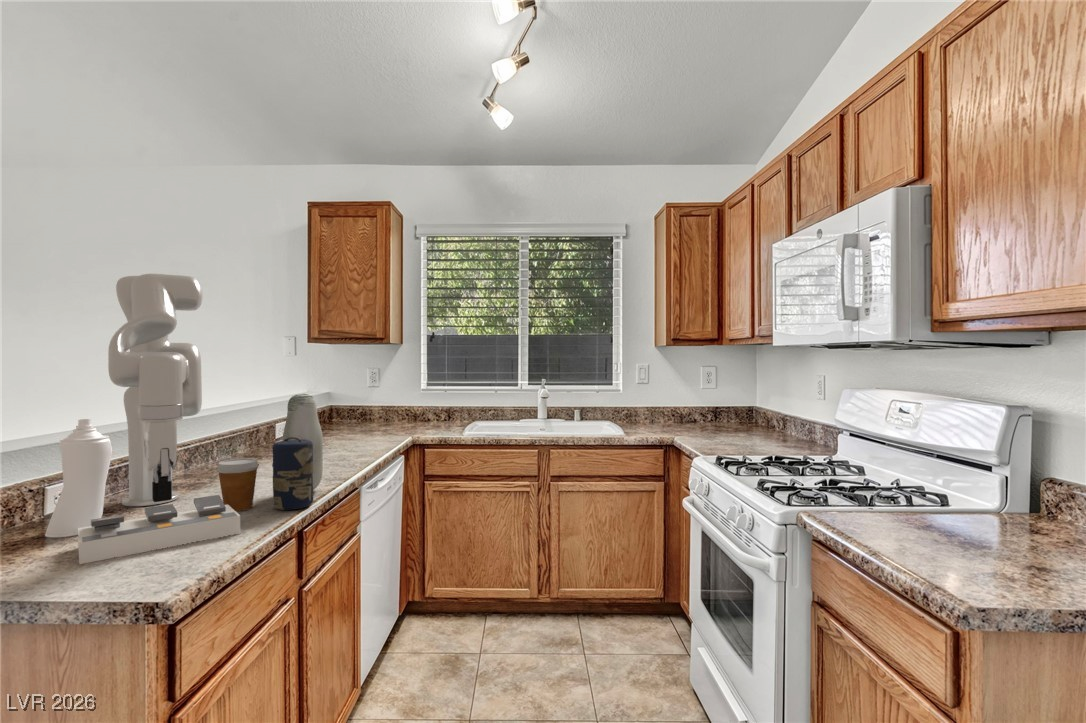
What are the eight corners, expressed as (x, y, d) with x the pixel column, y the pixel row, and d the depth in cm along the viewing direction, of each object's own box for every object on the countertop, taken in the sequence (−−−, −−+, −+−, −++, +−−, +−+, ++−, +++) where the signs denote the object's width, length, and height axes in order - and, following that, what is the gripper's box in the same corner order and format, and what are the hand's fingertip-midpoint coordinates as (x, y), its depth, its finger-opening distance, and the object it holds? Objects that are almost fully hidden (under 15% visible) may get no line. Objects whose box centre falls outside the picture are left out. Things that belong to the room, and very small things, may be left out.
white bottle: (109, 520, 132) (107, 415, 132) (116, 530, 124) (114, 418, 124) (43, 531, 124) (42, 419, 124) (46, 542, 116) (45, 423, 116)
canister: (287, 514, 137) (287, 441, 136) (265, 509, 142) (264, 438, 141) (321, 505, 145) (320, 436, 144) (299, 500, 150) (298, 433, 150)
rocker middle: (144, 512, 120) (144, 507, 120) (172, 508, 123) (172, 503, 123) (148, 521, 114) (148, 516, 114) (177, 516, 118) (177, 511, 117)
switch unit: (78, 547, 113) (77, 524, 113) (228, 521, 131) (227, 501, 131) (79, 564, 104) (78, 539, 104) (240, 533, 122) (240, 512, 122)
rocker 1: (90, 524, 114) (90, 519, 114) (121, 519, 117) (121, 514, 117) (91, 527, 108) (91, 521, 108) (124, 521, 112) (123, 516, 112)
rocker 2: (193, 502, 125) (193, 498, 125) (219, 498, 129) (219, 494, 128) (199, 515, 120) (199, 511, 120) (225, 511, 123) (225, 506, 123)
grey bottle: (296, 487, 164) (295, 392, 164) (329, 488, 163) (328, 392, 162) (276, 496, 154) (274, 395, 154) (310, 497, 153) (309, 395, 153)
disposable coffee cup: (207, 511, 139) (207, 463, 139) (241, 502, 148) (240, 457, 148) (235, 515, 136) (234, 466, 136) (267, 505, 145) (267, 459, 145)
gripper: (135, 410, 120) (136, 495, 120) (143, 418, 108) (144, 512, 109) (177, 408, 124) (177, 489, 125) (188, 415, 113) (189, 505, 114)
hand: (162, 499), depth 117 cm, fingers closed
